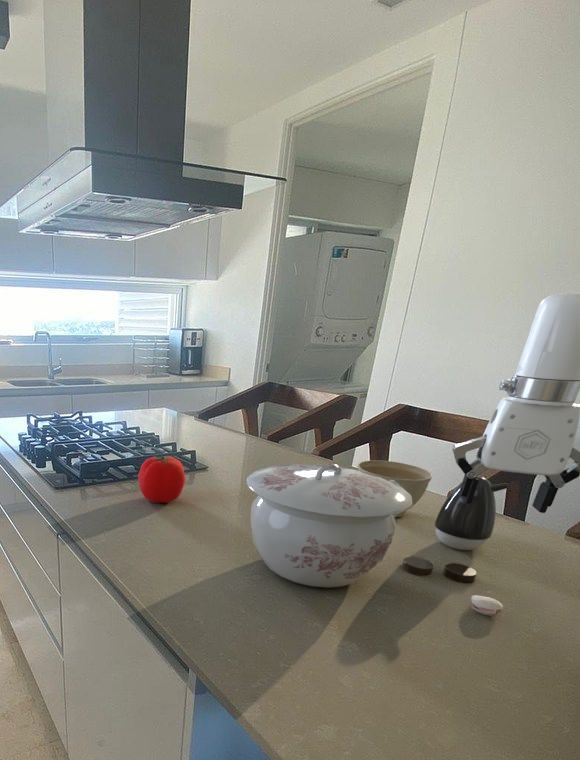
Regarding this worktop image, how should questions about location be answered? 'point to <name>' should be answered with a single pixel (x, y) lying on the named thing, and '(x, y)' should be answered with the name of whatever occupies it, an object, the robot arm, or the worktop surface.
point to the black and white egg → (468, 517)
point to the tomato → (161, 479)
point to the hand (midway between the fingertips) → (501, 505)
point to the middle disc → (459, 572)
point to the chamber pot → (323, 521)
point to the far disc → (417, 566)
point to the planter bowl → (400, 476)
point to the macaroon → (486, 605)
